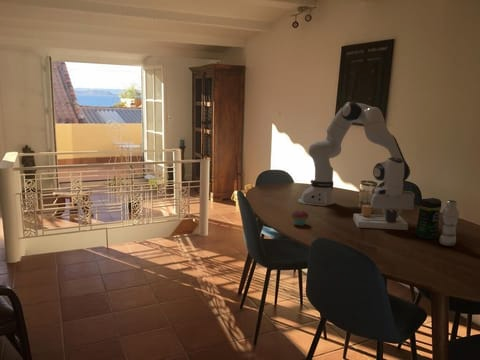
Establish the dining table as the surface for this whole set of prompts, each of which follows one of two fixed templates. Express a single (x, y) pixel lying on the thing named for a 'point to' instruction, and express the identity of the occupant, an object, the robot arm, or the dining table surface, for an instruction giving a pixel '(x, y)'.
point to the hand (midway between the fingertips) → (390, 217)
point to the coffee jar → (428, 218)
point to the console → (379, 222)
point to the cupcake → (300, 216)
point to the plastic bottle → (449, 224)
